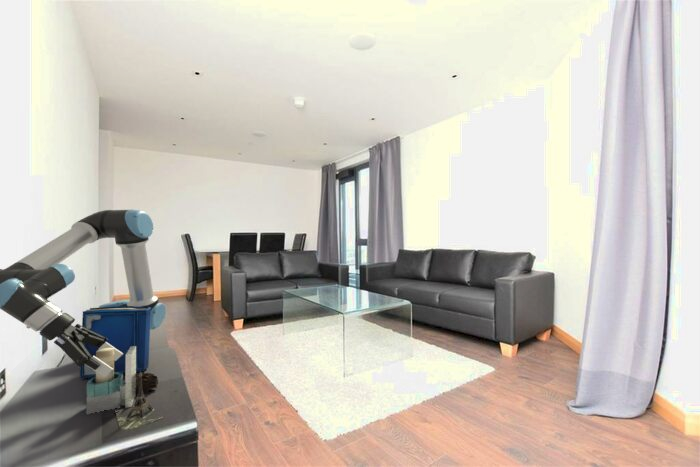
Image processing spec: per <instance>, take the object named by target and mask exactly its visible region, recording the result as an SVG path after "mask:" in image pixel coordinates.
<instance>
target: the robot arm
mask: <svg viewBox="0 0 700 467" xmlns="http://www.w3.org/2000/svg"><path fill="white" fill-rule="evenodd" d="M153 230H154V223H153V219H152V217H151V216H150V215H149V213H147V212H145V211H143V210H139V209H104V210H101V211H97V212H94V213H92V214H89V215H88V216H85V217H83V218H82V219H79V220H78V221H76V222H75V223H73V224H72V225H71V228H70V229H69V230H67V231H65V232H63V233H62V234H60V235H59V236H57V237H56V238H54V239H52V240H51V241H49V242H47V243H46V244H44V245H43V246H41V247H39V248H37V249H36V250H34V251H32V252H30V253H29V254H28V255H26V256H24V257H23V258H21V259H19V260H18V261H16V262H15V263H13V264H11V265H9V266H7V267H5V268H4V269H1V268H0V310H2V311H3V312H5V313H7V315H10V316H11V317H12V318H14V319H16V320H17V321H19V322H20V323H22V324H24V325H25V326H26V329H31V330H32V331H34V332H39V335H40V336H42V338H44V339H46V340H48V341H53V340H54V339H55V338H57V339H55V340H54V341H53V343H54V344H55V345H56V346H57V347H59V348H60V349H61V350H62V351H63V352H64V353H65V354H66V355H67V356H68V357H69V359H71V360H72V361H73V363H74V364H75V365H76V366H78V367H79V368H80V367H82V366H83V365H84V364H85V365H86V366H88V367H89V368H91V369H92V370H94V371H95V372H97V373H98V374H100V375H101V376H103V377H104V378H105V377H106V376H107V375H108V374H109V373H110V372H111V371H112V370H113V368H112V367H110V366H109V365H107V364H106V363H104V362H103V361H101V360H100V359H98V358H97V357H95V356H93V357H92V356H91V355H90V353H89V352H88V351H87V349H86V348H85V347H84V345H83V344H82V343H85V344H88V345H92V346H95V347H98V348H99V347H100V348H99V349H98V350H101V349H105V348H114V347H113V346H112V345H110V344H109V343H107V342H106V341H107V340H108V338H105V337H103V336H101V335H99V334H97V333H95V332H93V331H91V330H88V329H86V328H84V327H83V326H82V324H80V323H76V325H72V324H73V323H75V320H76V319H75V318H74V317H73V316H71V315H70V314H69V313H67V312H63V309H62V308H60V307H59V306H57V305H56V304H54V303H53V302H51V301H50V300H49V298H51V297H53V296H54V295H56V294H57V293H60V292H61V291H63V289H66V288H67V287H68V286H69V285H70V284H72V283H73V282H74V281H75V278H76V276H75V272H74V269H72V267H70V266H68V265H66V264H63V263H62V262H63V261H65V260H66V259H67V258H69V257H70V256H72V255H74V254H75V253H76V252H77V251H80V249H82V248H84V246H86V245H89V244H93V243H95V242H97V241H98V240H101V239H113V238H114V242H115V244H116V245H117V246H118V247H120V248H121V255H122V259H123V265H124V271H125V275H126V276H125V277H126V283H127V287H128V294H129V299H119V300H115V301H110V302H107V303H103V304H101V305H100V306H99V307H111V306H135V307H150V308H151V317H150V331H151V330H157V329H158V328H159V327H160V326H162V324H163V322H164V320H165V319H166V314H167V307H166V305H165V304H164V303H163V302H159V296H157V295H155V294H154V291H153V290H154V289H153V284H152V279H151V273H150V267H149V259H148V254H147V253H148V252H147V247H146V244H147V243H148V241H149V237H150V236H152V234H153ZM122 355H123V353H122V352H120V351H119V350H117V349H116V348H114V360H115V361H116V360H117V359H118V358H119V357H121V356H122Z"/></svg>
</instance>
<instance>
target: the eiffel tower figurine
mask: <svg viewBox="0 0 700 467" xmlns="http://www.w3.org/2000/svg"><path fill="white" fill-rule="evenodd" d="M141 372H142V371H141V370H140V372H139V373H140V374H139V373H138V374H139V388H138V392H137V394H136V395H137V396H135V398H136V399H135V401H134V404H133V405H132V406H131V408H132V409H131V410H130V411H129V412H128V414H127V415H126V416H125V417H124V416H123V415H122V416H123V417H120V418H119V417H116V416H115V418H116V420H117V424H118V426H119V430H131V429H134V428H138V427H141V426H145V425H149V424H151V423H154V422H156V421H158V420H162V419H164V417H163V416H160V417H156V418H150V419H148V420H146V418H147V417H148V416H149V415H150V414H152V413H153V412H154V411H155V410H156V408H154V407H153V406H151V405H150V404H149V401H147V399H146V397H145V393H144V392H143V387H142V373H141ZM118 412H119V411H118ZM118 412H115V413H118ZM123 412H124V411H122V413H123ZM115 413H114V414H115Z"/></svg>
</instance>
